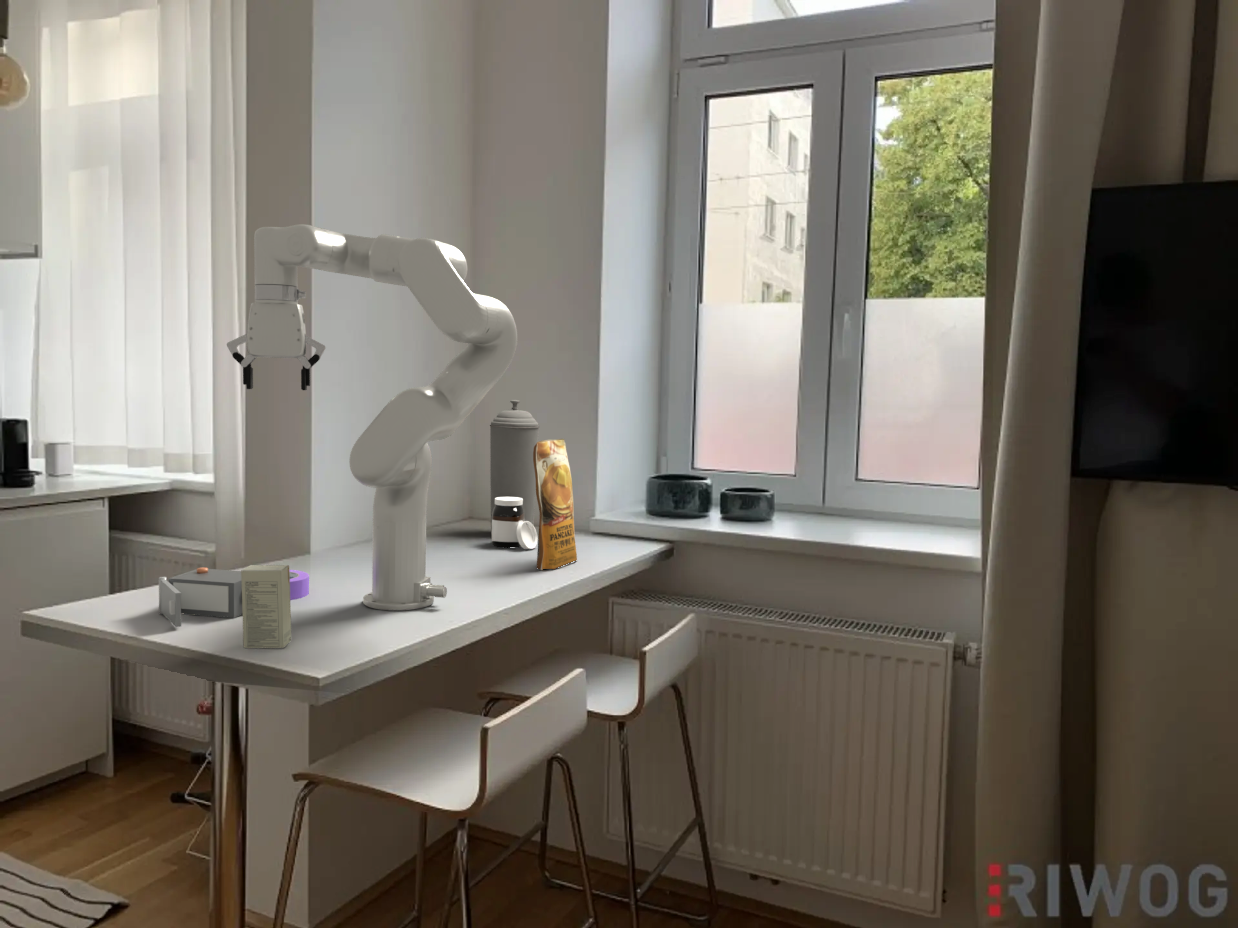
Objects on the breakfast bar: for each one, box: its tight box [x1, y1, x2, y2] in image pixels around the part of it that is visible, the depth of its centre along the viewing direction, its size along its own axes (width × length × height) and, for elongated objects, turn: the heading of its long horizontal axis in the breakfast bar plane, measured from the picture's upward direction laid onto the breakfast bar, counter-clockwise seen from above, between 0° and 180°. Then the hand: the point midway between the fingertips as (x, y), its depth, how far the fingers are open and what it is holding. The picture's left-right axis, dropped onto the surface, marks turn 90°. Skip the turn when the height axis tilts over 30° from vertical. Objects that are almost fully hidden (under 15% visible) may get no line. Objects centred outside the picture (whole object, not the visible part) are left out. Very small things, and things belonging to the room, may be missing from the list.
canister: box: [489, 399, 540, 534], centre depth 257 cm, size 13×13×35 cm
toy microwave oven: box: [168, 566, 243, 619], centre depth 172 cm, size 13×9×7 cm
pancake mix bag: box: [533, 438, 578, 571], centre depth 221 cm, size 7×19×28 cm, turn 156°
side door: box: [158, 576, 182, 628], centre depth 164 cm, size 12×2×6 cm, turn 36°
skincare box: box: [240, 564, 292, 649], centre depth 152 cm, size 6×4×12 cm
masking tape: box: [289, 569, 310, 601], centre depth 185 cm, size 12×12×4 cm
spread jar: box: [491, 497, 538, 550], centre depth 241 cm, size 12×11×12 cm
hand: (277, 389), depth 185 cm, fingers open, 9 cm apart
